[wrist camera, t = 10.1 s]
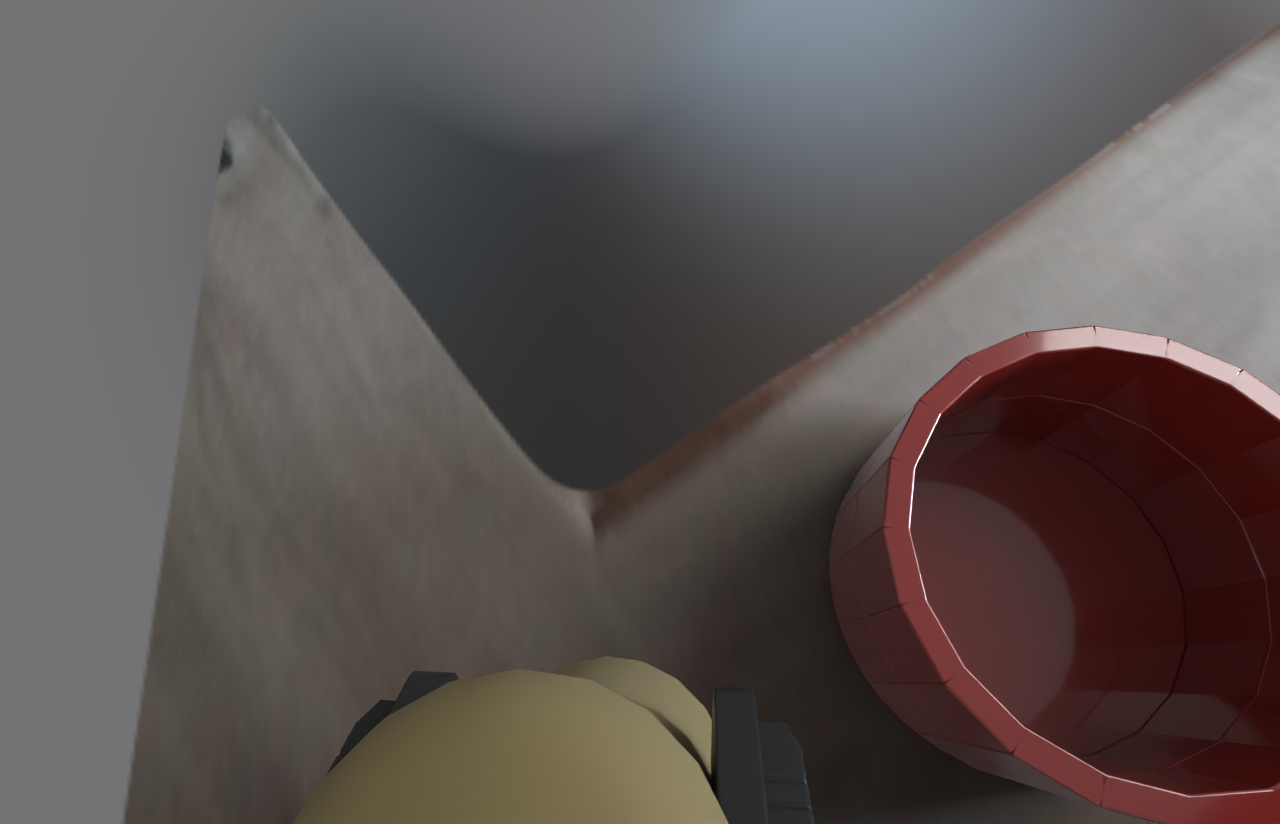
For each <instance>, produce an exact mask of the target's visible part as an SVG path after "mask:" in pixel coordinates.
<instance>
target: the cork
mask: <svg viewBox="0 0 1280 824" xmlns="http://www.w3.org/2000/svg"><path fill="white" fill-rule="evenodd" d="M711 732H712V720H711V718H710V716H709V714H708V712H707V710H706V708H705V707H704V706H703V705H702V704H701V703H700V702H699V701H698V700H697V699H696V698H695V697H694V696H693V695H692V694H691V693H690V692H689V691H688V690H687V689H686V688H685V686H684V685H683V684H682V683H681V682H680V681H679V680H678V679H676V678H674V677H672V676H670V675H668V674H666V673H665V672H663V671H661V670H659V669H657V668H655V667H653V666H651V665H649V664H647V663H646V662H643V661H637V660H630V659H624V658H617V657H611V656H604V657H599V658H593V659H588V660H583V661H577V662H572V663H569V664H567V665H566V666H564V667H562V668H560V669H559V670H557V671H555V672H553V673H546V672H539V671H533V670H526V669H513V670H508V671H503V672H497V673H492V674H487V675H481V676H476V677H470V678H465V679H460V680H454V681H450V682H449V683H447V684H445V685H443V686H441V687H440V688H438V689H436V690H434V691H432V692H430V693H429V694H427V695H425V696H423V697H421V698H419V699H418V700H416V701H414V702H412V703H410V704H408V705H407V706H405V707H403V708H401V709H399V710H398V711H396V712H394V713H392V714H390V715H388V716H387V717H386V718H385V719H383V720H382V721H381V722H380V723H379V724H378V725H377V726H375V727H374V728H373V729H372V730H371V731H370V732H369V733H368V734H367V735H366V736H365V737H364V738H363V739H362V740H361V741H360V742H359V743H358V744H357V745H356V746H355V747H354V748H353V749H352V750H351V751H350V752H349V753H348V754H347V755H346V756H345V757H344V758H343V759H342V760H341V761H340V762H339V763H338V764H337V765H336V766H335V767H334V768H333V769H332V770H331V771H330V772H329V773H328V774H327V775H326V776H325V777H324V778H323V779H322V780H321V781H320V782H319V783H318V784H317V785H316V786H315V787H314V789H313V791H312V792H311V794H310V796H309V798H308V799H307V801H306V803H305V804H304V806H303V808H302V810H301V811H300V813H299V815H298V816H297V818H296V820H295V822H294V823H293V824H729V823H728V821H727V819H726V817H725V815H724V813H723V811H722V809H721V807H720V805H719V803H718V801H717V799H716V797H715V795H714V793H713V791H712V789H711Z"/></svg>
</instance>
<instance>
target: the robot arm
mask: <svg viewBox="0 0 1280 824" xmlns="http://www.w3.org/2000/svg"><path fill="white" fill-rule="evenodd" d="M454 680H458V677H457V675H456V674H455V673H446V672H426V671H414V672H413V673H412V674H411V675H410V676H409V678H408V679H407V681H406V683H405V685H404V687H403V689H402V691H401V692H400V694H399V696H398V698H397V700H396V701H387V700H380V701H379V702H378V703H377V704H376V705H375V706H374V707H373V708H372V709H371V710H370V711H369V712H367V713H366V714H365V715H364V716H363V717H362V718H361V719H360V720H359V721H358V722H357V723H356V724H355V726H354V728H353V729H352V731H351V733H350V735H349V736H348V738H347V740H346V741H345V743H344V745H343V747H342V748H341V750H340V755H339V756H337V757H336V759H335V761H334V762H333V764H332V766H331V767H330V769H329V771H328V773H329V772H330V771H331V770H332V769H333V768H334V767H335V766H336V765H337V764H338V763H339V762H340V761H341V760H342V759H343V758H344V757H345V756H346V755H347V754H348V753H349V752H350V751H351V750H352V749H353V748H354V747H355V746H356V745H357V744H358V743H359V742H360V741H361V740H362V739H363V738H364V737H365V736H366V735H367V734H368V733H369V732H370V731H371V730H372V729H373V728H374V727H375V726H377V725H378V724H379V723H380V722H381V721H382V720H383V719H385V718H386V717H387V716H388V715H390V714H392V713H394V712H396V711H398V710H399V709H401V708H403V707H405V706H407V705H408V704H410V703H412V702H414V701H416V700H418V699H419V698H421V697H423V696H425V695H427V694H429V693H430V692H432V691H434V690H436V689H438V688H440V687H441V686H443V685H445V684H447V683H449V682H450V681H454ZM328 773H327V774H328ZM711 789H712V791H713V793H714V795H715V797H716V799H717V801H718V803H719V805H720V807H721V809H722V811H723V813H724V815H725V817H726V819H727V821H728V823H729V824H814V819H813V813H812V809H811V801H810V795H809V789H808V784H807V777H806V771H805V765H804V759H803V753H802V748H801V746H800V744H799V743H798V741H797V739H796V738H795V736H794V735H793V733H792V731H791V730H790V728H789V727H788V725H787V723H786V722H785V721H775V720H758V717H757V707H756V697H755V690H754V687H742V686H722V685H713V705H712V732H711Z"/></svg>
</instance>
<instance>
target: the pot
mask: <svg viewBox="0 0 1280 824" xmlns="http://www.w3.org/2000/svg"><path fill="white" fill-rule="evenodd" d="M829 576H830V588H831V594H832V599H833V605H834V609H835V613H836V616H837V619H838V623H839V626H840V629H841V632H842V634H843V637H844V639H845V641H846V643H847V646H848V648H849V650H850V653H851V655H852V656H853V658H854V660H855V661H856V663H857V665H858V667H859V668H860V670H861V672H862V673H863V675H864V677H865V678H866V680H867V681H868V682H869V684H870V685H871V686H872V688H873V689H874V690H875V692H876V693H877V694H878V696H879V697H880V698H881V699H882V700H883V701H884V702H885V704H886V705H887V706H888V707H889V708H890V709H891V710H892V711H893V712H894V713H895V714H896V715H897V716H898V717H899V718H900V719H901V720H902V721H903V722H904V723H906V724H907V725H908V726H909V727H910V728H912V729H913V730H914V731H915V732H916V733H917V734H918V735H920V736H921V737H923V738H924V739H926V740H927V741H929V742H930V743H932V744H933V745H935V746H936V747H938V748H939V749H941V750H942V751H944V752H945V753H947V754H949V755H951V756H953V757H955V758H957V759H959V760H961V761H963V762H964V763H966V764H968V765H969V766H971V767H972V768H975V769H977V770H980V771H983V772H987V773H990V774H993V775H996V776H1000V777H1003V778H1006V779H1009V780H1013V781H1016V782H1019V783H1022V784H1025V785H1029V786H1032V787H1035V788H1038V789H1041V790H1045V791H1048V792H1051V793H1054V794H1058V795H1061V796H1064V797H1067V798H1071V799H1074V800H1077V801H1080V802H1083V803H1087V804H1090V805H1093V806H1096V807H1100V808H1103V809H1107V810H1111V811H1114V812H1118V813H1122V814H1126V815H1130V816H1134V817H1137V818H1141V819H1145V820H1149V821H1153V822H1157V823H1160V824H1280V395H1279V394H1278V393H1276V392H1275V391H1274V390H1272V389H1271V388H1269V387H1268V386H1266V385H1265V384H1264V383H1262V382H1261V381H1259V380H1258V379H1257V378H1255V377H1254V376H1252V375H1251V374H1249V373H1248V372H1247V371H1245V370H1243V369H1240V368H1239V367H1237V366H1234V365H1232V364H1230V363H1227V362H1225V361H1222V360H1220V359H1218V358H1215V357H1213V356H1210V355H1208V354H1205V353H1203V352H1201V351H1198V350H1196V349H1193V348H1191V347H1189V346H1186V345H1184V344H1181V343H1179V342H1177V341H1174V340H1172V339H1167V337H1162V336H1156V335H1150V334H1144V333H1137V332H1131V331H1125V330H1119V329H1113V328H1107V327H1100V326H1084V327H1074V328H1064V329H1054V330H1044V331H1034V332H1026V333H1021V334H1019V335H1017V336H1014V337H1012V338H1010V339H1007V340H1005V341H1002V342H1000V343H998V344H995V345H993V346H991V347H988V348H986V349H983V350H981V351H979V352H976V353H974V354H972V355H969V356H967V357H965V358H964V359H962V360H961V361H960V362H959V363H958V364H956V365H955V366H954V367H953V368H952V369H951V370H950V371H949V372H948V373H947V374H946V375H944V376H943V377H942V378H941V379H940V380H939V381H938V382H937V383H936V384H935V385H934V386H932V387H931V388H930V389H929V390H928V391H927V392H926V393H925V394H924V395H923V396H922V397H920V398H919V399H918V401H917V402H916V403H915V404H914V405H913V407H912V408H911V409H910V410H909V411H908V413H907V414H906V415H905V416H904V417H903V419H902V420H901V421H900V422H899V423H898V425H897V426H896V427H895V428H894V429H893V431H892V432H891V433H890V434H889V435H888V437H887V438H886V439H885V440H884V441H883V443H882V444H881V445H880V446H879V447H878V449H877V450H876V451H875V452H874V453H873V455H872V456H871V457H870V458H869V459H868V461H867V462H866V463H865V464H864V465H863V467H862V468H861V469H860V470H859V472H858V473H857V475H856V477H855V479H854V481H853V483H852V485H851V486H850V488H849V490H848V492H847V494H846V495H845V497H844V499H843V501H842V504H841V506H840V509H839V511H838V513H837V516H836V520H835V524H834V528H833V532H832V537H831V544H830V554H829Z"/></svg>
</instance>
